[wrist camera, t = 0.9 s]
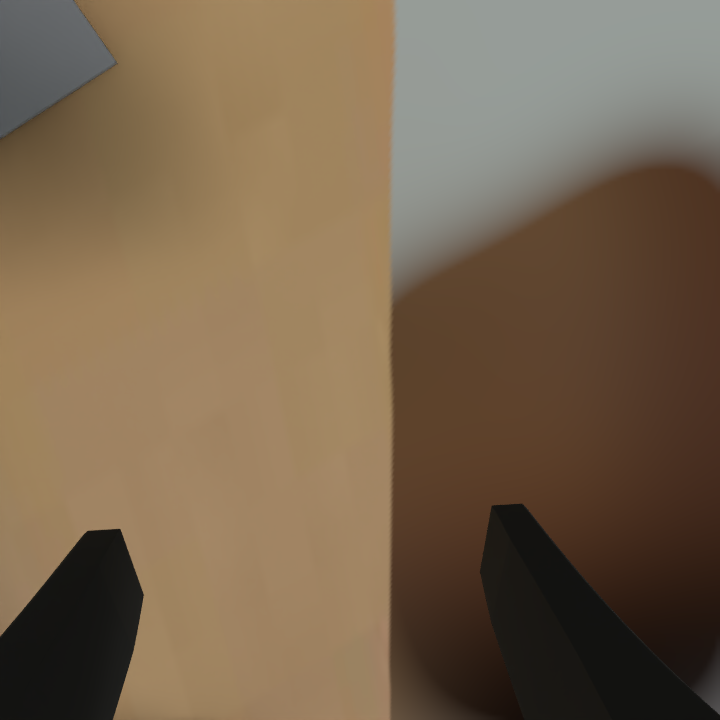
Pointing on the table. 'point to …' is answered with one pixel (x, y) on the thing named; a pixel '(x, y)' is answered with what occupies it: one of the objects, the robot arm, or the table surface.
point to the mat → (44, 57)
